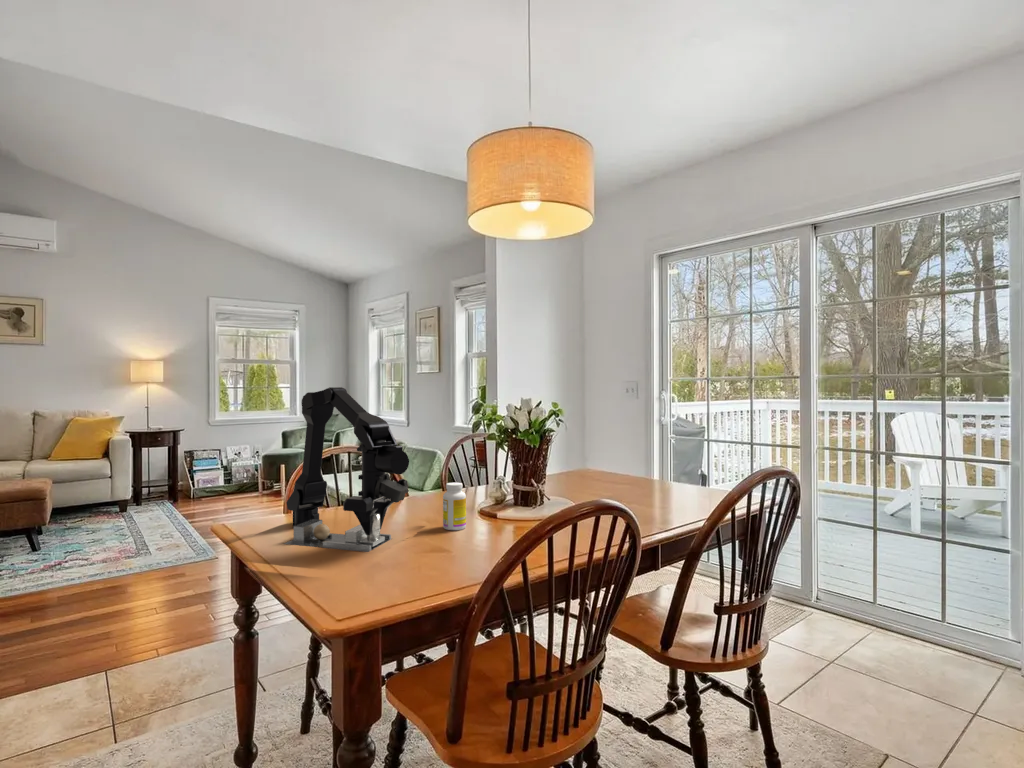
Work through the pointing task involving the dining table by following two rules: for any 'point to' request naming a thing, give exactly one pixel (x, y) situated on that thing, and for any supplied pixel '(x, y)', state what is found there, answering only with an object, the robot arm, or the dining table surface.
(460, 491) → the supplement bottle
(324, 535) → the tan ball
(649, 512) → the dining table surface
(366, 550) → the press base
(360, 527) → the ram
